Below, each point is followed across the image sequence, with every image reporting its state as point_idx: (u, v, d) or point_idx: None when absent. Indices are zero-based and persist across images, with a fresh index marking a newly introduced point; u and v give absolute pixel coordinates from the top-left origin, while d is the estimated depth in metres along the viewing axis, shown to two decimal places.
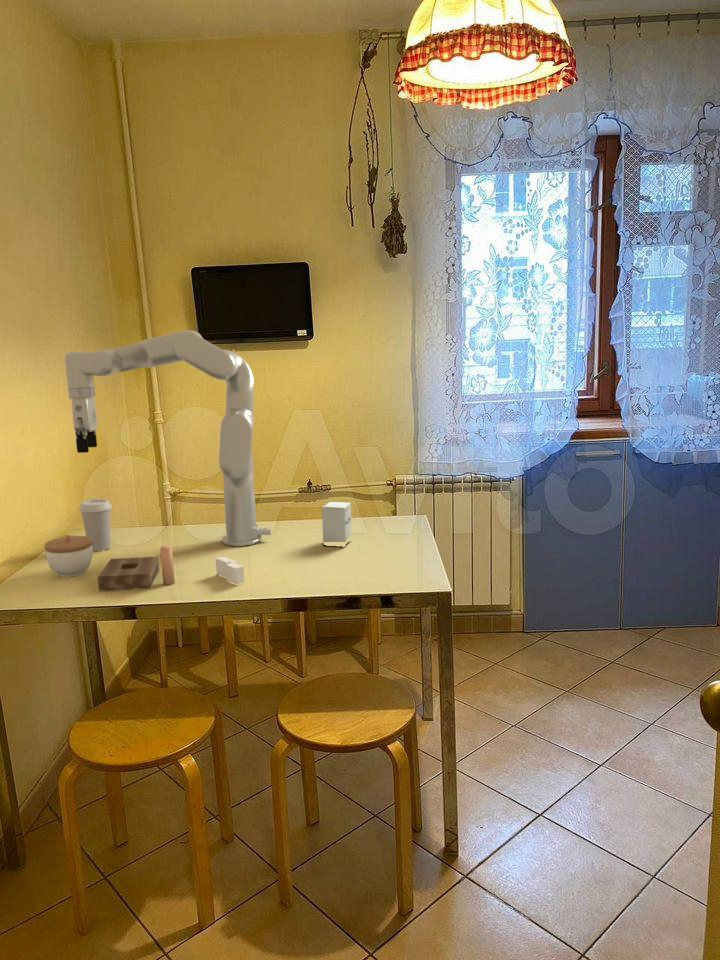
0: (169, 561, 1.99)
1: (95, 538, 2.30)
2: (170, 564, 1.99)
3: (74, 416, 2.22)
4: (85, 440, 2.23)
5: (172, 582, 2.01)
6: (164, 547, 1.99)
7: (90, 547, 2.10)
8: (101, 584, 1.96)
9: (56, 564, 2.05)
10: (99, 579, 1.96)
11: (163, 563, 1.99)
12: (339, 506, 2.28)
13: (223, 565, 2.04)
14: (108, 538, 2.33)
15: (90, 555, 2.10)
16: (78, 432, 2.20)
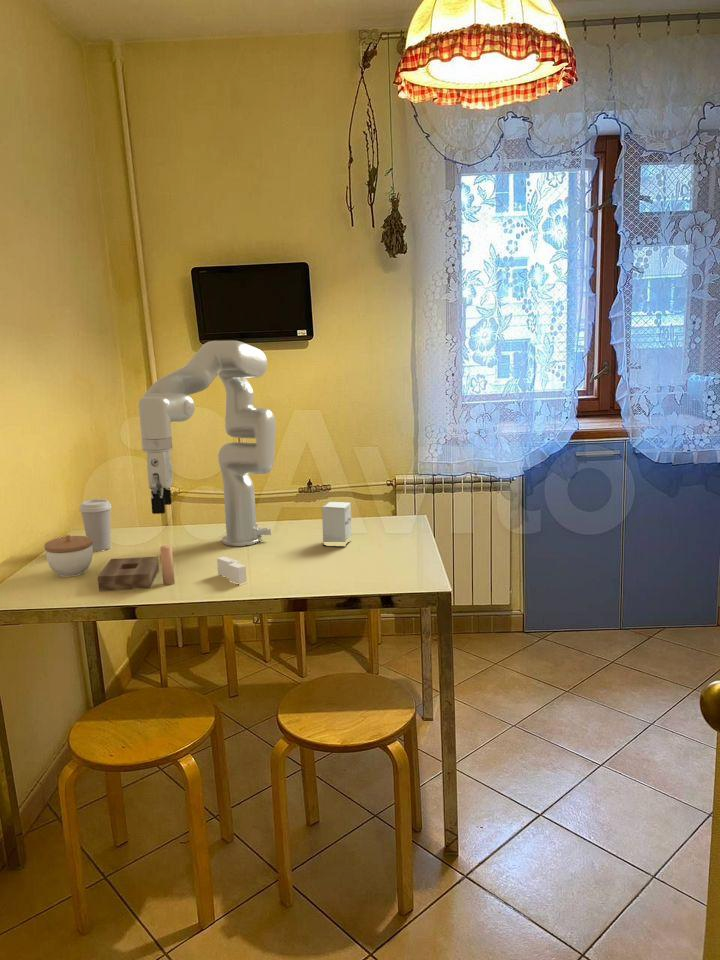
0: (169, 561, 1.99)
1: (95, 538, 2.30)
2: (170, 564, 1.99)
3: (149, 472, 1.90)
4: (161, 499, 1.92)
5: (172, 582, 2.01)
6: (164, 547, 1.99)
7: (90, 547, 2.10)
8: (101, 584, 1.96)
9: (56, 564, 2.05)
10: (99, 579, 1.96)
11: (163, 563, 1.99)
12: (339, 506, 2.28)
13: (225, 565, 2.04)
14: (108, 538, 2.33)
15: (90, 555, 2.10)
16: (155, 491, 1.88)
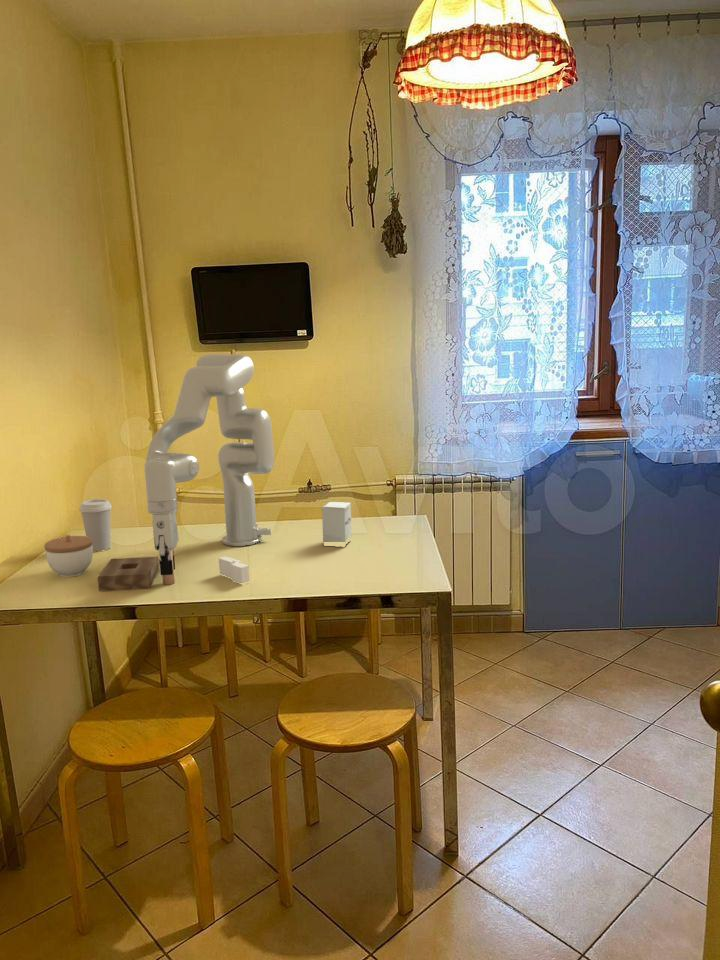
0: None
1: (95, 538, 2.30)
2: None
3: (155, 534, 1.94)
4: (169, 561, 1.98)
5: (172, 582, 2.01)
6: None
7: (90, 547, 2.10)
8: (101, 584, 1.96)
9: (56, 564, 2.05)
10: (99, 579, 1.96)
11: None
12: (339, 506, 2.28)
13: (227, 565, 2.04)
14: (108, 538, 2.33)
15: (90, 555, 2.10)
16: (163, 556, 1.95)
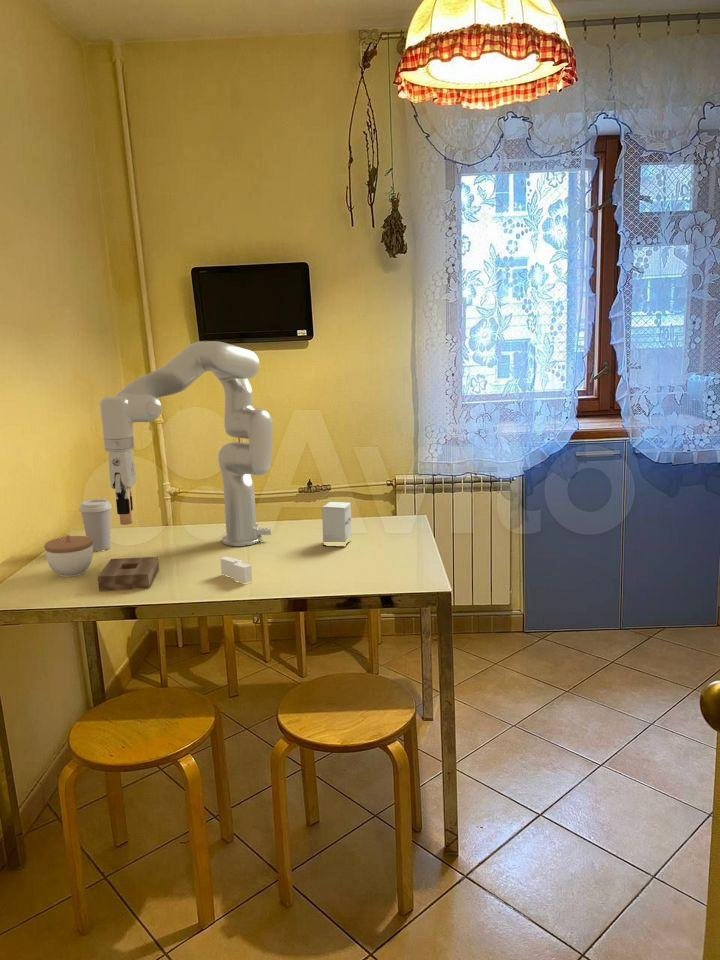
0: None
1: (95, 538, 2.30)
2: None
3: (111, 471, 1.93)
4: (126, 500, 1.98)
5: (129, 522, 2.00)
6: (121, 486, 1.99)
7: (90, 547, 2.10)
8: (101, 584, 1.96)
9: (56, 564, 2.05)
10: (99, 579, 1.96)
11: None
12: (339, 506, 2.28)
13: (229, 565, 2.04)
14: (108, 538, 2.33)
15: (90, 555, 2.10)
16: (119, 494, 1.94)
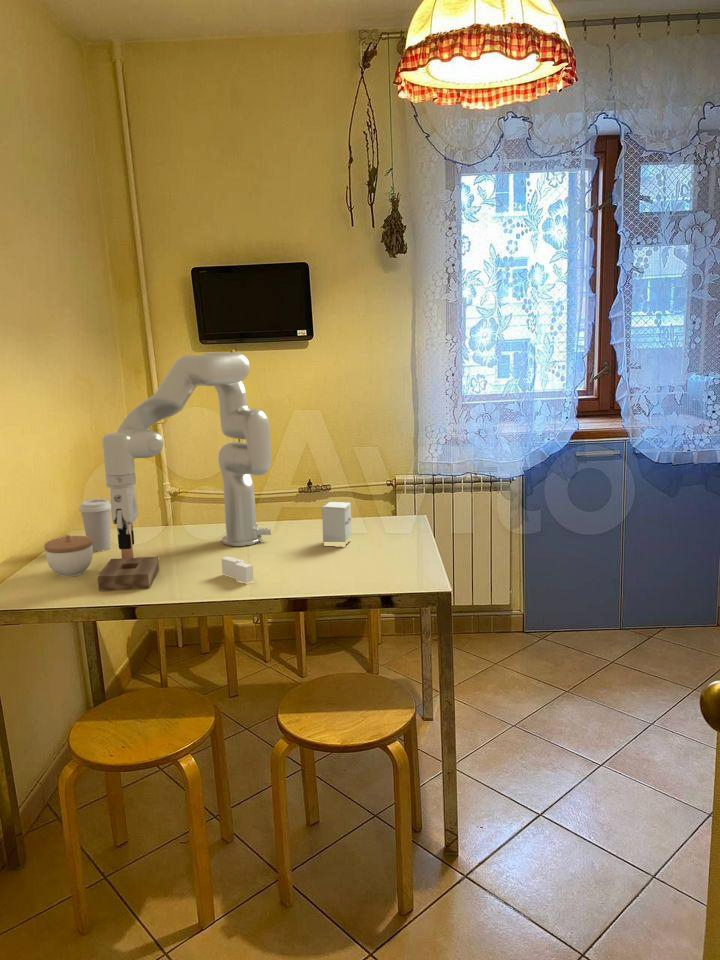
0: None
1: (95, 538, 2.30)
2: None
3: (113, 507, 1.95)
4: (128, 535, 2.00)
5: (131, 556, 2.02)
6: None
7: (90, 547, 2.10)
8: (101, 584, 1.96)
9: (56, 564, 2.05)
10: (99, 579, 1.96)
11: None
12: (339, 506, 2.28)
13: (230, 565, 2.04)
14: (108, 538, 2.33)
15: (90, 555, 2.10)
16: (121, 530, 1.97)
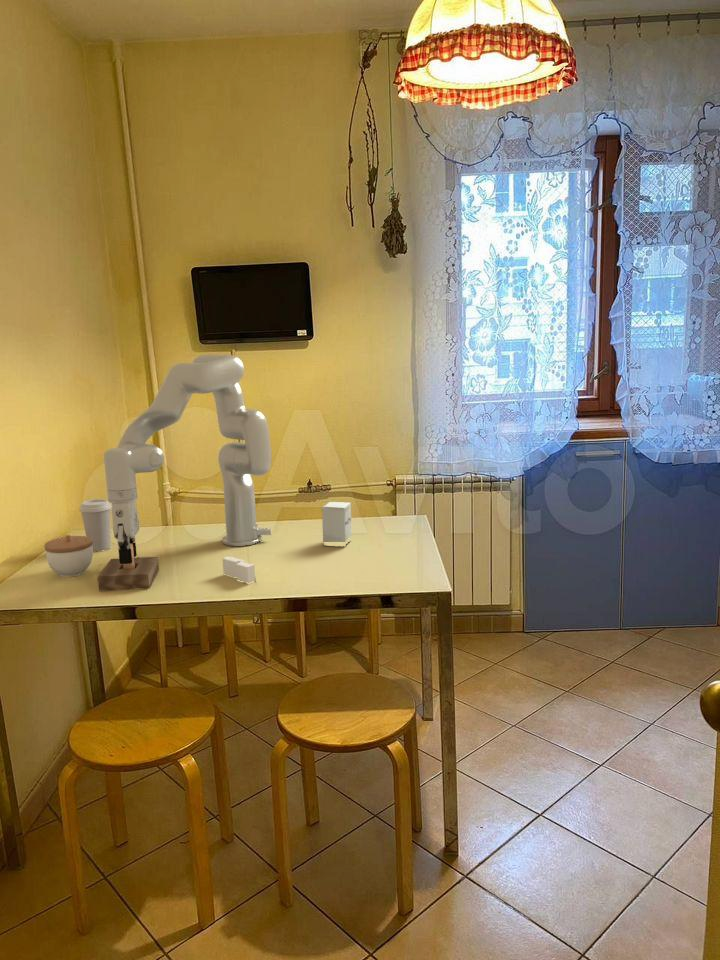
0: None
1: (95, 538, 2.30)
2: None
3: (114, 522, 1.96)
4: (128, 550, 2.00)
5: None
6: None
7: (90, 547, 2.10)
8: (101, 584, 1.96)
9: (56, 564, 2.05)
10: (99, 579, 1.96)
11: None
12: (339, 506, 2.28)
13: (231, 565, 2.04)
14: (108, 538, 2.33)
15: (90, 555, 2.10)
16: (121, 544, 1.96)
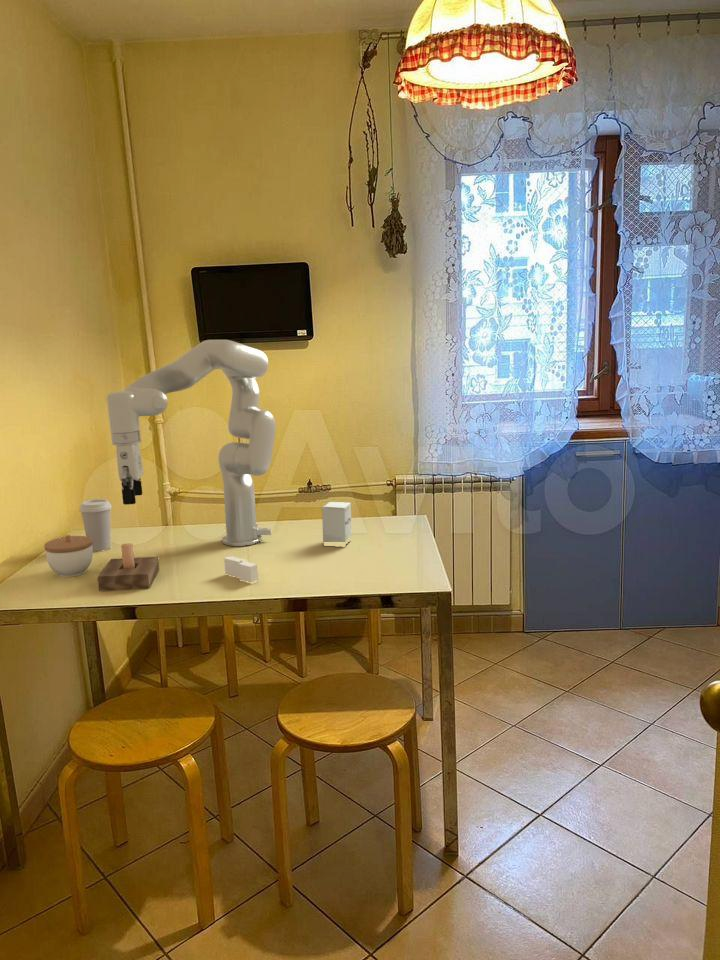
0: (130, 558, 2.02)
1: (95, 538, 2.30)
2: (131, 561, 2.02)
3: (119, 464, 1.98)
4: (132, 491, 1.99)
5: None
6: (125, 544, 2.03)
7: (90, 547, 2.10)
8: (101, 584, 1.96)
9: (56, 564, 2.05)
10: (99, 579, 1.96)
11: (124, 560, 2.02)
12: (339, 506, 2.28)
13: (233, 564, 2.04)
14: (108, 538, 2.33)
15: (90, 555, 2.10)
16: (125, 483, 1.96)
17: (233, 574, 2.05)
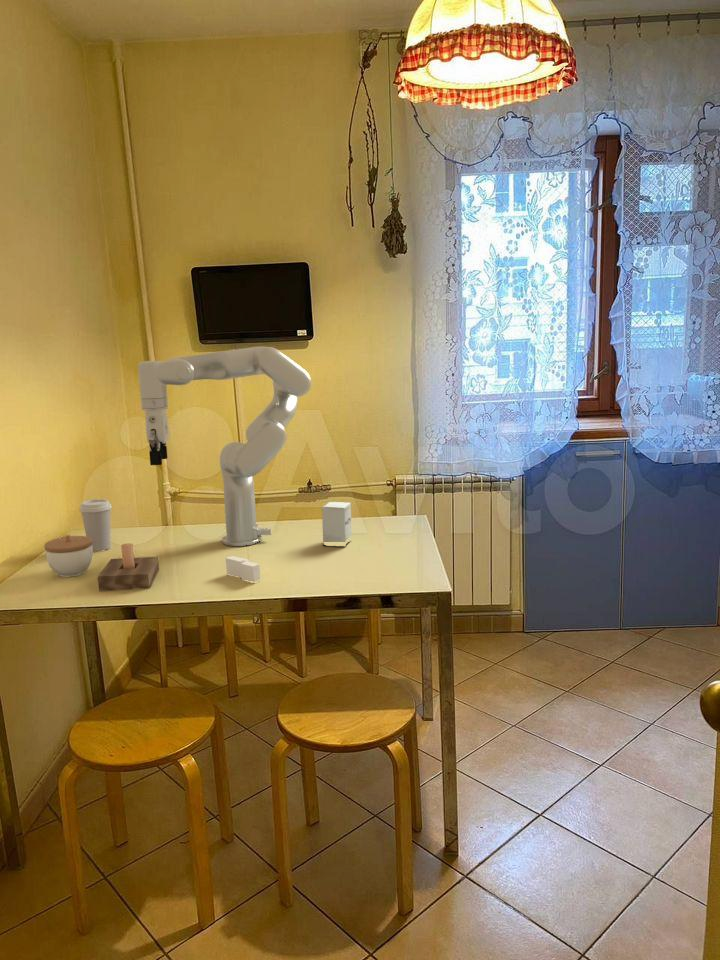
0: (130, 558, 2.02)
1: (95, 538, 2.30)
2: (131, 561, 2.02)
3: (148, 428, 2.15)
4: (159, 452, 2.16)
5: None
6: (125, 544, 2.03)
7: (90, 547, 2.10)
8: (101, 584, 1.96)
9: (56, 564, 2.05)
10: (99, 579, 1.96)
11: (124, 560, 2.02)
12: (339, 506, 2.28)
13: (235, 564, 2.04)
14: (108, 538, 2.33)
15: (90, 555, 2.10)
16: (152, 444, 2.13)
17: (235, 574, 2.05)
